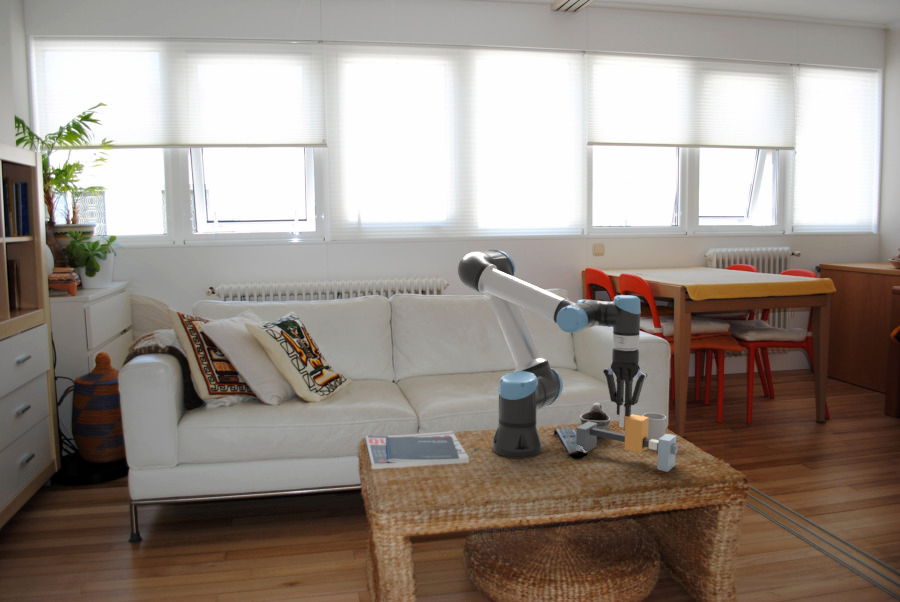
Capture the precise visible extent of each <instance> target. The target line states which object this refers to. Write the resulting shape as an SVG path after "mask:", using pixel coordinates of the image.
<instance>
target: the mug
mask: <svg viewBox="0 0 900 602" xmlns="http://www.w3.org/2000/svg"><path fill="white" fill-rule="evenodd" d="M602 408H603V407H602V404H601V403H599V402H595V403H593V404H592V406H591V409H590V410H589V411H585V412H584V413H582V414H580V415H579V419H580V426H581V425H582V424H584V423H586V422H588V421H589V422H594V423H597V429H602V430H607V431H611V429H610V421H611V417H610V416H609V415H608V414H607V413H606V412H605V411H603V410H602ZM598 439H599V440H600V439H603V437H598V436H597V440H598Z"/></svg>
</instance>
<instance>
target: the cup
mask: <svg viewBox="0 0 900 602" xmlns="http://www.w3.org/2000/svg"><path fill="white" fill-rule="evenodd" d="M642 416H644V417H649V422H648V439H649V440H651V439H655V440H659V438H661V437H662V436H663V435H665V434H667V433H666V431H667V416H666V415H665V414H662V413H658V412H644V413H643V414H642Z"/></svg>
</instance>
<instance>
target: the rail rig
mask: <svg viewBox="0 0 900 602" xmlns="http://www.w3.org/2000/svg"><path fill="white" fill-rule="evenodd" d="M597 436H598V437H603V438H604V439H609V440H613V441H618V442H621V443H625V433H621V432H617V431H616V432H615V431H611V430H610V431H607V430H602V429H597V423H594V422H589V421H588V422H586V423H584V424H582V425H581V424H580V425H579V426H577V427H576V437H575V438H576V439H575V440H576V441H575V445H576V444H577V445H580V446H582V447H583V449H584V450H585V451H587V452H586V453H588V452H590V451H591V450H593V449H594V448H596V447H597V440H598V439H597ZM603 438H602V439H603ZM642 446H644V447H647V450H648V449H649V450H654V451H657V466H656V467H657V468H656V470H657V469H658V470H659V471H663V472H666V473H668V472H669V471H670V470H672V469H673V468H674V467H675V466H676V454H678V453H679V444H678V443H677V435H675V434H672V433H666V434H665V435H663V436H662V437H661V438H659V440H655V439H651V440H649V439H645V438H643V445H642Z"/></svg>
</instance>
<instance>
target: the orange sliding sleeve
mask: <svg viewBox="0 0 900 602" xmlns="http://www.w3.org/2000/svg"><path fill="white" fill-rule="evenodd" d="M648 422H649V417H644V416H643V415H639V414H638V415H637V414H633V413H631V415H630V416H629V417H627V418H626V424H625V427H624V428H625V429H624V434H625V442H624V450H625V451H631V452H634V453H639V454H642V453H643V452H645V451H646V450H648V447H644V446H642V445H643V438H645V439H648Z"/></svg>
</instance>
